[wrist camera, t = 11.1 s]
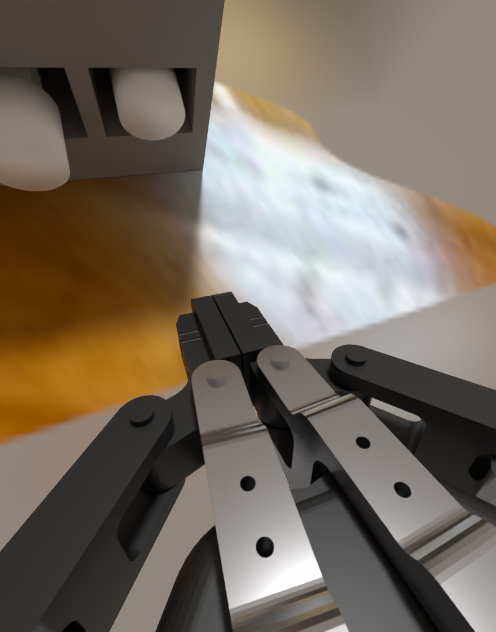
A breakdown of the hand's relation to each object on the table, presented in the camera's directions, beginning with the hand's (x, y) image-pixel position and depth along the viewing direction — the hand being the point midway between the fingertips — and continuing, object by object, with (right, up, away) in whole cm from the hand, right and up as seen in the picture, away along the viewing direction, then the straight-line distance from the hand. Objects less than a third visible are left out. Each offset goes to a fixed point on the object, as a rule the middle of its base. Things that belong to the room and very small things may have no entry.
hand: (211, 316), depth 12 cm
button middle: (-11, +10, +6) cm, 16 cm away
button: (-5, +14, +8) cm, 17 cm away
